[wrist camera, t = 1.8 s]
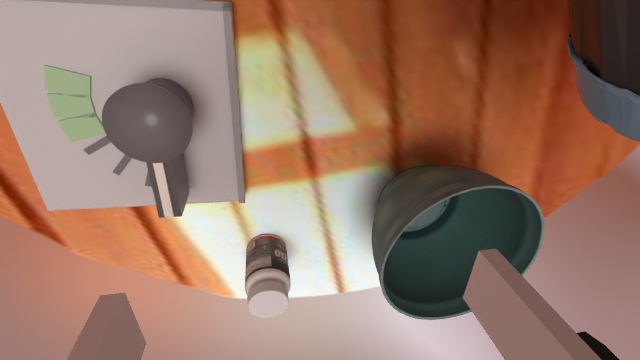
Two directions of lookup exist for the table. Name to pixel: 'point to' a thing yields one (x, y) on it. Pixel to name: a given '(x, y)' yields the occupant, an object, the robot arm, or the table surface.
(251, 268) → the pill bottle
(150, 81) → the tuner knob
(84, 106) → the green curved panel
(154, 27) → the tuner board
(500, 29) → the table surface
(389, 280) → the flower pot
